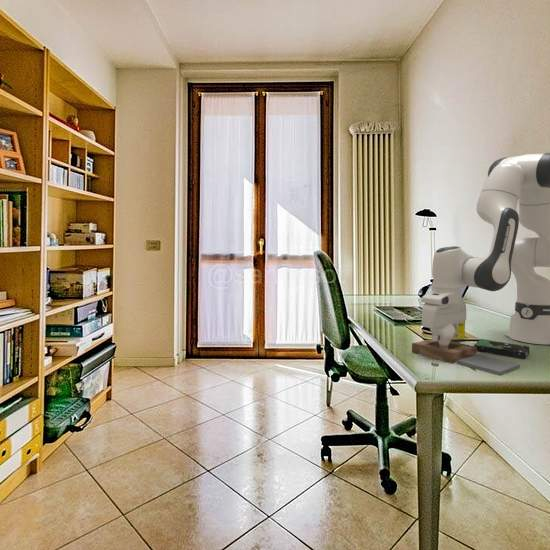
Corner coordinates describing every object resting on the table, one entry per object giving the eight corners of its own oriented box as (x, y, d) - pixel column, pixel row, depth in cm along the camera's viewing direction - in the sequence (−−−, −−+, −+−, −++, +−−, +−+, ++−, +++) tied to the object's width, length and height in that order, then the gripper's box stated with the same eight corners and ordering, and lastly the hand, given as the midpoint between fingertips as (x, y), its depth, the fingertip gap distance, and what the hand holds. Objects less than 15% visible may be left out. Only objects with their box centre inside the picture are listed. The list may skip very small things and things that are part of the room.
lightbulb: (446, 350, 122) (447, 318, 122) (458, 356, 116) (460, 322, 115) (428, 351, 121) (430, 319, 121) (440, 357, 115) (442, 323, 114)
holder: (436, 346, 128) (436, 337, 128) (476, 355, 117) (476, 346, 117) (411, 352, 121) (412, 343, 120) (452, 363, 109) (452, 353, 109)
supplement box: (464, 341, 135) (466, 312, 135) (450, 341, 135) (451, 312, 134) (454, 337, 141) (455, 309, 141) (440, 338, 140) (441, 310, 140)
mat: (477, 357, 116) (477, 354, 115) (519, 367, 106) (519, 364, 106) (457, 363, 109) (457, 360, 109) (499, 375, 99) (500, 371, 99)
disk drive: (529, 354, 121) (479, 345, 131) (529, 346, 121) (479, 338, 131) (525, 361, 113) (472, 352, 123) (526, 352, 113) (473, 343, 123)
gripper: (454, 293, 126) (452, 332, 127) (418, 297, 114) (417, 340, 115) (472, 295, 121) (470, 336, 122) (437, 300, 109) (435, 345, 110)
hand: (444, 338), depth 118 cm, fingers open, 8 cm apart
